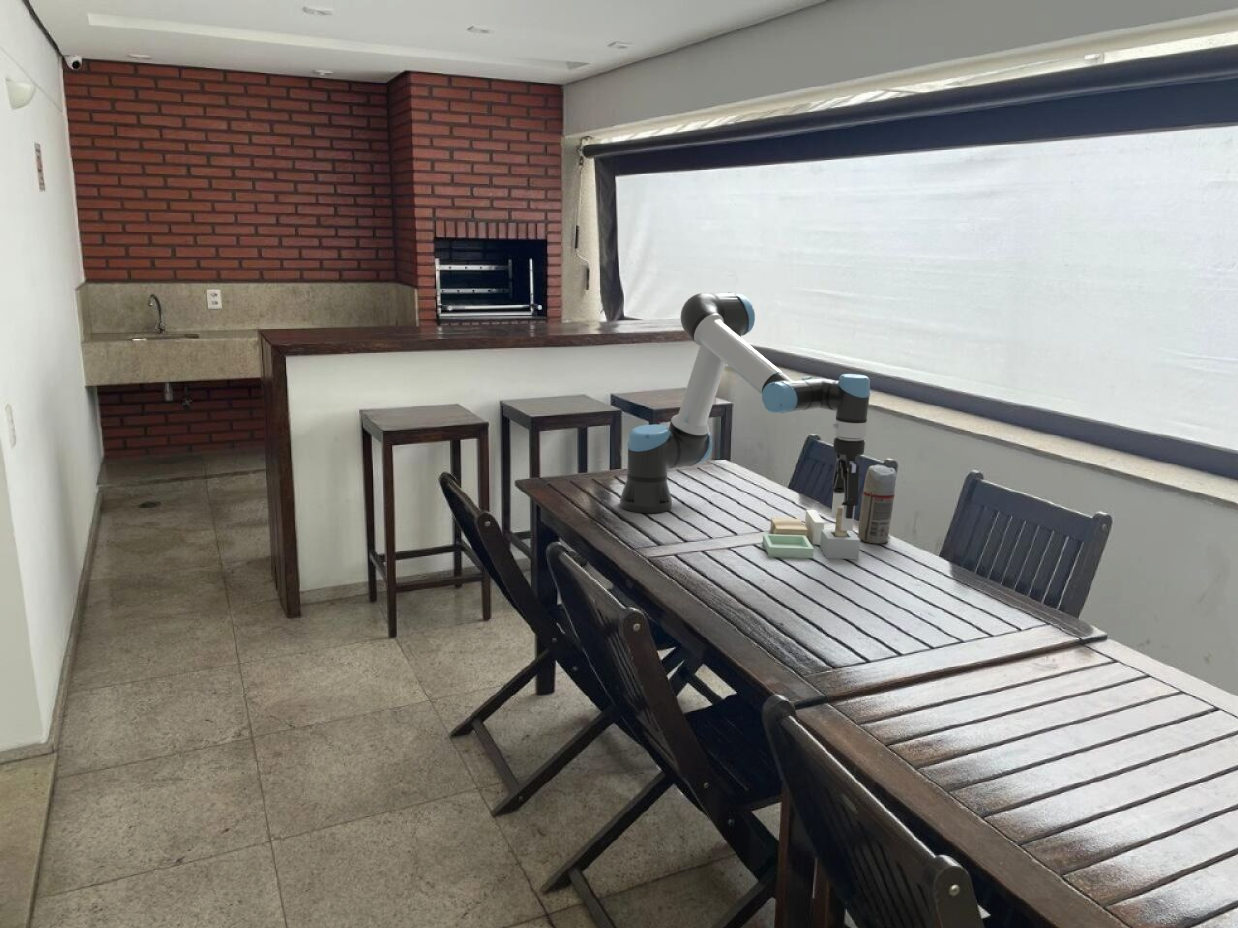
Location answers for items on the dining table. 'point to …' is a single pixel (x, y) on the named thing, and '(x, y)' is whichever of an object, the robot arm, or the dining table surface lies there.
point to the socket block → (840, 545)
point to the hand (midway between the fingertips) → (841, 523)
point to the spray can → (877, 504)
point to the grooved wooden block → (787, 527)
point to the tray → (787, 546)
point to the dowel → (839, 523)
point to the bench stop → (814, 526)
